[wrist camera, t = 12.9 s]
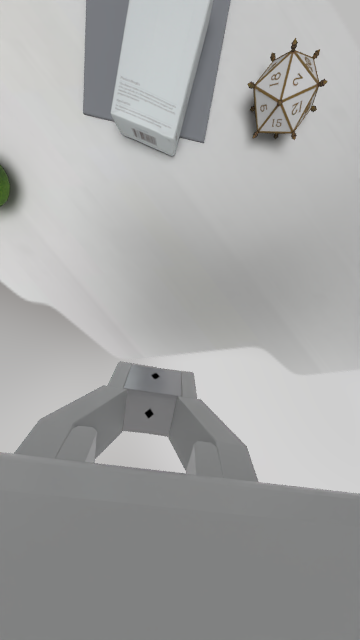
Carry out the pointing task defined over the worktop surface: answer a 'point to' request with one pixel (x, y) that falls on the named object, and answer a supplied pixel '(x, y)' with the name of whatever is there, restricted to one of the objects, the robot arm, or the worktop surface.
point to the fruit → (4, 186)
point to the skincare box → (158, 69)
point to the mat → (104, 53)
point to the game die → (285, 92)
